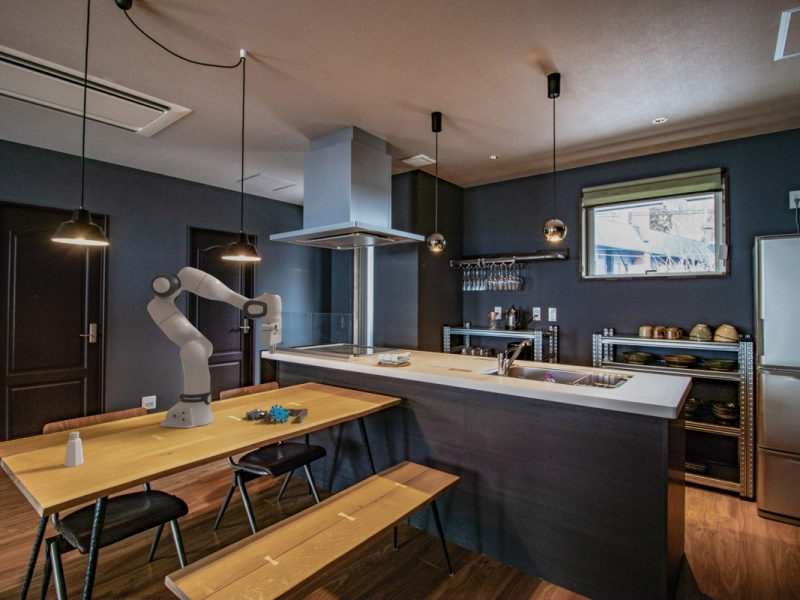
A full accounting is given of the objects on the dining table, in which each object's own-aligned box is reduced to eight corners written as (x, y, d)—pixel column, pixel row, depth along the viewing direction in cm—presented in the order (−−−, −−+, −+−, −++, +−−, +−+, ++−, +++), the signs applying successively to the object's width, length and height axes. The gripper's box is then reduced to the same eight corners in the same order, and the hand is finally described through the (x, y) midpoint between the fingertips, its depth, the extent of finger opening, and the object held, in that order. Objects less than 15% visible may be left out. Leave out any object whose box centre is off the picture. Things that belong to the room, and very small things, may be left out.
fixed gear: (242, 420, 201) (242, 412, 201) (250, 414, 211) (250, 406, 211) (264, 420, 201) (264, 412, 201) (270, 414, 211) (270, 406, 211)
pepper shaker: (87, 461, 149) (87, 430, 149) (76, 467, 143) (76, 434, 144) (71, 461, 149) (72, 430, 149) (59, 467, 143) (60, 434, 143)
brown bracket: (264, 422, 197) (264, 416, 197) (273, 414, 212) (273, 408, 212) (300, 423, 197) (300, 416, 197) (307, 414, 212) (307, 408, 212)
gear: (274, 422, 193) (268, 403, 198) (268, 429, 195) (262, 411, 200) (294, 420, 201) (288, 403, 206) (288, 427, 203) (282, 410, 209)
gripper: (272, 324, 218) (272, 351, 218) (259, 326, 197) (259, 356, 197) (284, 324, 218) (284, 351, 218) (272, 326, 197) (272, 356, 197)
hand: (272, 353), depth 207 cm, fingers closed
